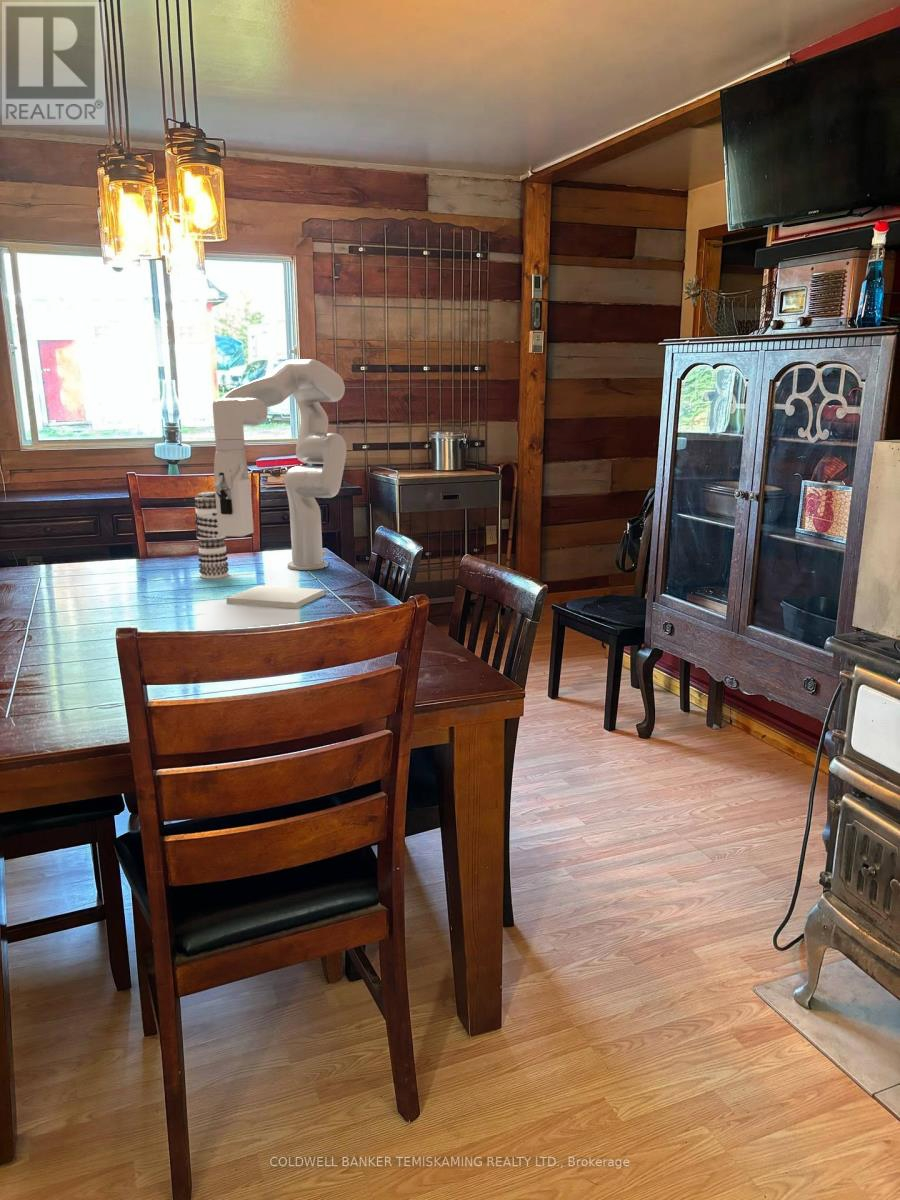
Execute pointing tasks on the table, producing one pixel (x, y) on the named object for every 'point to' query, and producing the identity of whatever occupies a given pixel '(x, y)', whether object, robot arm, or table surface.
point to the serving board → (276, 596)
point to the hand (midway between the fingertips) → (234, 511)
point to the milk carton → (237, 508)
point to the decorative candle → (210, 538)
